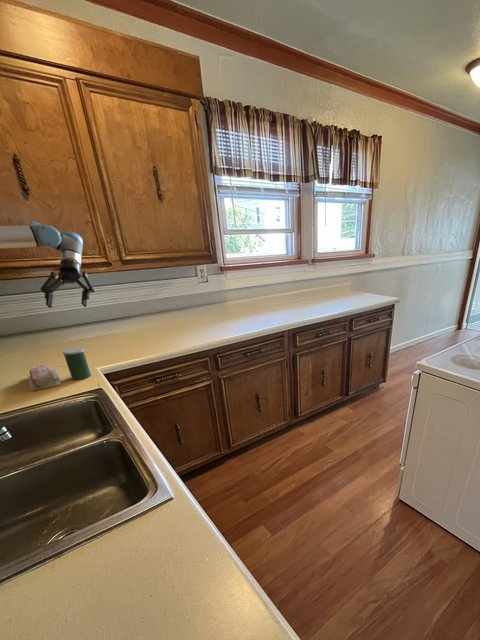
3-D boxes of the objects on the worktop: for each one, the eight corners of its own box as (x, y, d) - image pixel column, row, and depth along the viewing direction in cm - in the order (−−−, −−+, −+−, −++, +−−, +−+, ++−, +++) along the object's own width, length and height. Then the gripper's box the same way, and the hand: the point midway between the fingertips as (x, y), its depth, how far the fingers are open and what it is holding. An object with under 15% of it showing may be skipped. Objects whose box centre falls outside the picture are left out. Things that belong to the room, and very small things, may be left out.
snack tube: (68, 380, 136) (59, 353, 131) (76, 374, 142) (67, 347, 137) (87, 379, 137) (78, 352, 132) (93, 373, 144) (85, 346, 138)
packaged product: (58, 374, 130) (26, 380, 124) (62, 385, 132) (31, 392, 126) (52, 362, 142) (23, 367, 136) (56, 372, 144) (28, 378, 138)
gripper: (104, 269, 150) (102, 309, 143) (44, 270, 146) (39, 311, 139) (97, 258, 143) (94, 299, 136) (33, 258, 139) (27, 301, 132)
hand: (66, 305), depth 138 cm, fingers open, 13 cm apart
